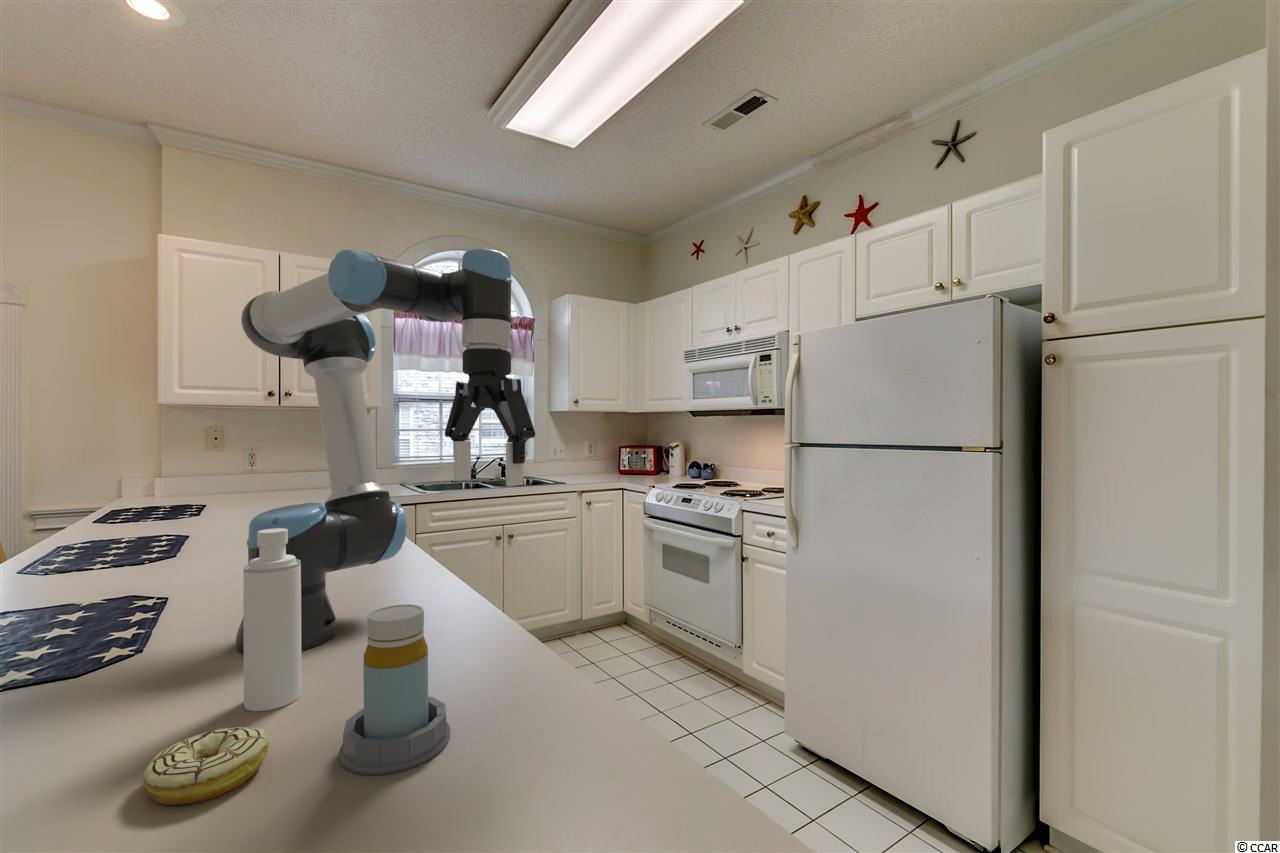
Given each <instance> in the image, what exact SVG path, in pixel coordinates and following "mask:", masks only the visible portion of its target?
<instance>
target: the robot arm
mask: <svg viewBox="0 0 1280 853" xmlns="http://www.w3.org/2000/svg"><path fill="white" fill-rule="evenodd" d="M460 266H461V269H458V270H456V271H452V272H441V271H437V270H432V269H429V268H424V267H420V266H417V265H413V264H408V263H405V262H401V261H398V260H395V259H391V258H387V257H383V256H380V255H376V254H374V253H371V252H368V251H359V250H353V249H342V250H340V251H338V252H337V253H336V254H335V256H334V258H332V260H331V262H330V264H329V268H328V272H327V273H325V274H322V275H320V276H317V277H314V278H313V279H310V280H308V281H305V282H303V283H300V284H298V285H296V286H294V287H291V288H289V289H286V290H284V291H278V290H273V291H272V290H270V291H266V292H263V293H261V294H257V296H255V297H253V298H252V299H250V300H249V301H248V302H247V303H246V304H245V306H244V307H243V310H242V312H241V318H240V319H241V327H242V329H243V331H244V334H245V336H246V337H247V338H248V340H250V342H251V343H253V345H255V346H256V348H259V349H260V350H262V351H264V352H266V353H267V354H270V355H273V356H276V357H282V358H288V359H295V360H296V359H297V360H302V362H303V367H304V372H305V373H306V374H307V375H309V376H310V377H311V378H313V380H314V384H315V391H316V397H317V404H318V405H317V406H318V409H319V410H318V412H319V416H320V417H319V418H320V422H321V423H320V424H321V430H322V431H321V432H322V437H323V442H324V443H323V444H324V449H325V451H324V452H325V456H326V464H327V469H328V474H329V481H330V489H331V493H330V495H329V496H328V497H327V499H326V500H325V501H324V504H323V503H319V502H305V503H298V504H291V505H284V506H281V507H277V508H272V509H269V510H266V511H263V512H260V513H258V514H257V515H255V516H254V517H253V518H252V519H251V520H250V522H249V526H248V536H247V541H246V546H247V554H248V555H247V556H248V558H247V559H248V560H247V561H248V562H247V563H248V564H249V562H250V560H252V559H255V558H259V547H258V546H257V532H258V531H261V530H266V529H275V528H285V529H288V543H287V544H286V555H294V556H295V557H296V559H299V560H301V651H302V650H306V649H310V648H312V647H316V646H318V645H320V644H323V643H325V642H327V641H329V640H331V639H333V638H334V636H336V635H337V632H338V627H337V626H338V624H337V623H338V622H337V621H338V620H337V617H336V614H335V611H334V609H333V606H332V604H331V601H330V599H329V596H328V593H327V590H326V588H327V586H326V584H327V583H326V579H327V578H326V577H327V576H326V574H328V573H331V572H337V571H342V570H346V569H352V568H355V567H361V566H364V565H374V564H377V563H379V562H382V561H386V560H390V559H392V558H393V557H395V556H396V555H397V554H398V553H399V552H400V551H401V549H402V547H403V544H404V543H405V541H406V536H407V531H408V519H407V514H406V511H405V509H404V508H402V505H401V503H399V502H398V501H394V500H391V497H390V492H389V490H388V489H387V488H385V487H384V486H382V485H381V484H380V481H379V475H378V474H379V473H378V468H377V463H376V462H377V461H376V456H375V452H374V444H373V438H372V434H371V428H370V421H369V414H368V410H367V404H366V396H365V391H364V386H363V385H364V384H363V379H362V378H363V377H362V374H363V373H364V372H365V371H366V369H367V368H368V363H369V362H370V361H372V359H373V357H374V354H375V352H376V351H375V350H376V349H375V348H374V347H376V333H375V331H374V327H373V325H372V323H371V321H370V320H369V318H368V317H366V315H364V314H366V313H369V312H373V311H375V310H378V309H384V310H390V311H395V312H402V313H407V314H413V315H417V316H418V317H419V318H421V319H422V320H424V321H426V322H430V323H435V322H438V323H445V322H449V321H451V320H452V321H453V320H456V319H462V320H461V321H462V322H461V323H462V326H461V329H462V330H461V331H462V333H461V343H462V344H461V346H463V347H464V348H466V349H464V350H463V352H462V372H463V373H464V374H465V375H468V381H456V383H455V391H454V392H455V393H454V394H455V395H454V399H453V401H452V405H451V409H450V412H449V416H448V419H447V423H446V427H445V430H444V436H445V437H446V438H450V440H451V441H452V443H453V446H452V447H453V449H452V450H453V453H452V454H453V481H456V482H460V481H470V480H472V472H471V470H472V463H471V462H472V461H471V460H472V456H471V455H472V453H471V452H472V450H471V449H472V447H471V446H472V445H471V444H472V442H471V438H470V434H471V433H472V430H473V428H474V426H475V424H476V422H477V421H478V418H479V416H480V414H481V412H483V411H485V409H491V410H492V411H493V412H494V414H495V416H496V417H497V419H498V422H500V425H501V426H502V428H503V430H504V432H505V434H506V435H507V440H506V442H505V486H506V487H514V486H515V487H516V486H523V485H524V464H525V462H526V443H527V441H528V440H530V439H533V438H535V436H536V431H535V428H534V425H533V422H532V420H531V419H532V418H531V415H530V412H529V410H528V406H527V404H526V401H525V399H524V394H523V391H522V380H521V379H520V378H519V377H509V376H508V375H510V374H511V373H512V353H511V352H510V351H508V350H509V349H510V348H511V347H512V338H511V335H512V334H511V333H512V326H511V324H512V283H513V279H512V272H511V261H510V259H509V257H508V256H507V255H506V254H505V253H503V252H501V251H498V250H496V249H490V248H489V249H488V248H471V249H468V250H467V251H465V252H464V254H463V255H462V259H461V264H460ZM507 376H508V377H507ZM298 563H299V562H298ZM248 564H247V565H248ZM235 637H236V638H235V640H236V641H235V643H236V644H235V646H236V647H235V648H236V651H237V652H238V653H240V654H243V655H244V623H243V617H242V619H241V621H240V625H239V627H238V630H237V633H236V635H235Z"/></svg>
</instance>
